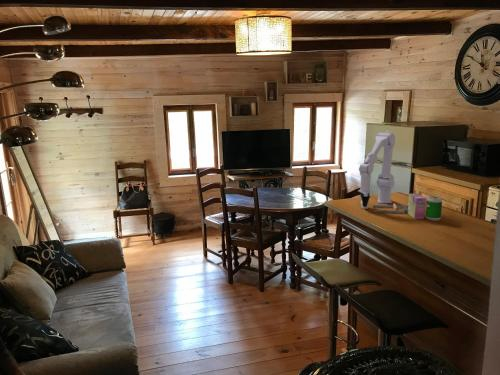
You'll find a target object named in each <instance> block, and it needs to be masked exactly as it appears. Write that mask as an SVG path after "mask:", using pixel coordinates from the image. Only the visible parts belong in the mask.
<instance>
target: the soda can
mask: <svg viewBox="0 0 500 375" xmlns="http://www.w3.org/2000/svg"><path fill="white" fill-rule="evenodd" d="M442 209H443V199H442V198H441V197H440V196H428V198H426V206H425V218H426V219H427V220H429V221H432V222H433V221H434V222H435V221H436V222H437V221H440V220H441V219H442V211H443V210H442Z"/></svg>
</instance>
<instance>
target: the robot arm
mask: <svg viewBox="0 0 500 375" xmlns="http://www.w3.org/2000/svg"><path fill="white" fill-rule="evenodd" d="M395 142H396V136H395V134H394V133H393V132H377V134H376V135H375V143H374V145H373V147H372V150H371V152H369V153H368V154H367V155H366V158H365V160H364V161H363V162H362V163H361V164H360V165H359V167H358V170H359V175H360V185H359V186H360V189H358V191H357V192H359V194H360V199H361V198H362V202H363V207H367V204H368V200H369V201H370V198H371V195H370V194H371V185H372V184H371V181H372V179H371V178H372V173H373V171H374V167H375V166H374V165H375V163H376V161H377V159H378V154H379V152H380V151H381V150H382V148H383V156H382V167H381V172H380V173H379V174H378V175H377V179H376V182H375V183H376V187H378V198H377V200H376V201H377V203H378V204H393V202H392V201H391V198H392V197H391V195H392V189H393V188H394V186H395V176H394V175H393V174H392V173H391V171H392V170H391V169H392V161H393V160H392V159H393V151H394V147H395Z"/></svg>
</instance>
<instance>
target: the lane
mask: <svg viewBox="0 0 500 375" xmlns="http://www.w3.org/2000/svg"><path fill="white" fill-rule="evenodd" d="M396 207H397V209H402V210H397V211H394V210H389V209H393V204H391V205H390V204H389V205H387V204H386V205H385V204H373V205H372V208H382V209H383V208H385V209H387V210H385V209H384V210H381V209H374V211H373V212H374V213H377V214H378V213H380V214H408V206H406V204H401V205H396ZM408 215H409V214H408Z"/></svg>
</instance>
